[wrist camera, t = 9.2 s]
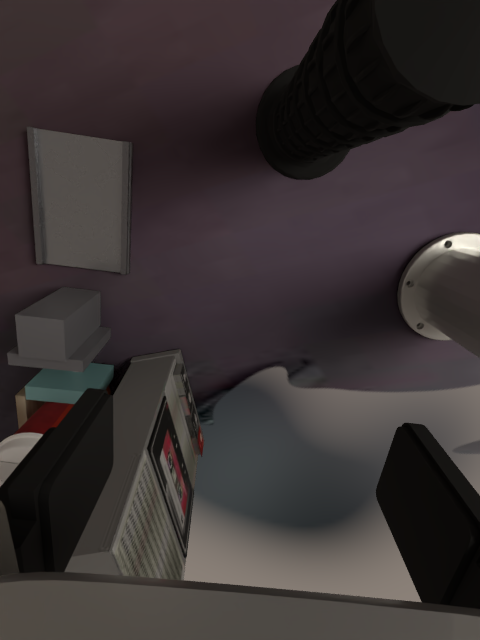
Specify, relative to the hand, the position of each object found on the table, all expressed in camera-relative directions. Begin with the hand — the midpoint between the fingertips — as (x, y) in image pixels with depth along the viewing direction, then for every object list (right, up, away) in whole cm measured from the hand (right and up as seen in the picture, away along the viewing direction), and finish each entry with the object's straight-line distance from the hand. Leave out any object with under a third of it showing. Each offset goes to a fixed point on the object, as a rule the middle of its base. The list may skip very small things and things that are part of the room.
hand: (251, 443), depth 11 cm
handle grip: (+6, +23, +23) cm, 33 cm away
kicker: (-18, +3, +28) cm, 34 cm away
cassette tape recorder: (-9, -6, +33) cm, 35 cm away
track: (-17, +16, +25) cm, 34 cm away
